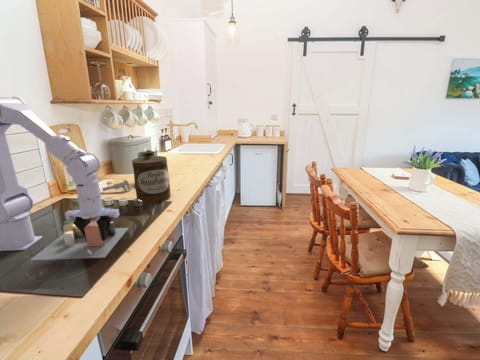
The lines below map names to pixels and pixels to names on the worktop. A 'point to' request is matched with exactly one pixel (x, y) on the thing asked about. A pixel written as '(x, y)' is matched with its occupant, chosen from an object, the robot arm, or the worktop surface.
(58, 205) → the worktop surface
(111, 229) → the crank
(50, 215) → the worktop surface
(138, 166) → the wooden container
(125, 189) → the caliper
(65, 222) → the tray
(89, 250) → the board
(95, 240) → the block
